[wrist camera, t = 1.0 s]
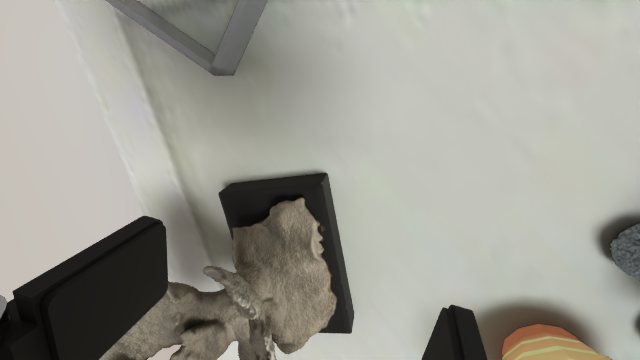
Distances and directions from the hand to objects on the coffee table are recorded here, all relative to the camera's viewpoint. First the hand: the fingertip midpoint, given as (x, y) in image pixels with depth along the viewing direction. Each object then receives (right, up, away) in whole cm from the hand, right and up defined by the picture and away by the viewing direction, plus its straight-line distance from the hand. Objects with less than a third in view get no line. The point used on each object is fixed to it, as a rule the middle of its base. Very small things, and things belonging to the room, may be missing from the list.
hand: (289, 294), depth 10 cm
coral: (-5, -8, +34) cm, 36 cm away
